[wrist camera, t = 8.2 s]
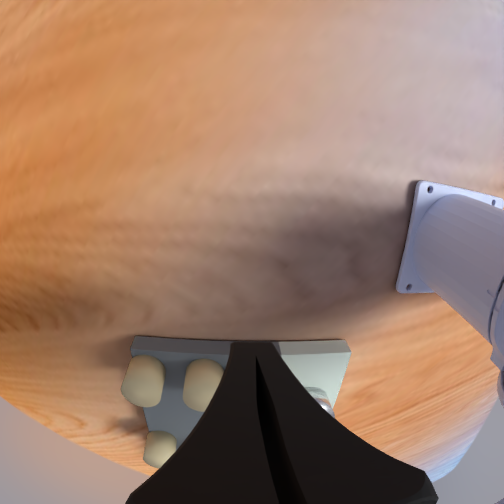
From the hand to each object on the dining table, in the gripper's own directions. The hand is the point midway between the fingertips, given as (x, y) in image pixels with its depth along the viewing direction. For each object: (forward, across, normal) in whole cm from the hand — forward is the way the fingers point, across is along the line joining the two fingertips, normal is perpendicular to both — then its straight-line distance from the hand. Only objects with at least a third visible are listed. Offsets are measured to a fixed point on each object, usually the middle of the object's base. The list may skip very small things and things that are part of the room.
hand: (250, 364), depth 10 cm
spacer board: (+9, 0, +14) cm, 16 cm away
